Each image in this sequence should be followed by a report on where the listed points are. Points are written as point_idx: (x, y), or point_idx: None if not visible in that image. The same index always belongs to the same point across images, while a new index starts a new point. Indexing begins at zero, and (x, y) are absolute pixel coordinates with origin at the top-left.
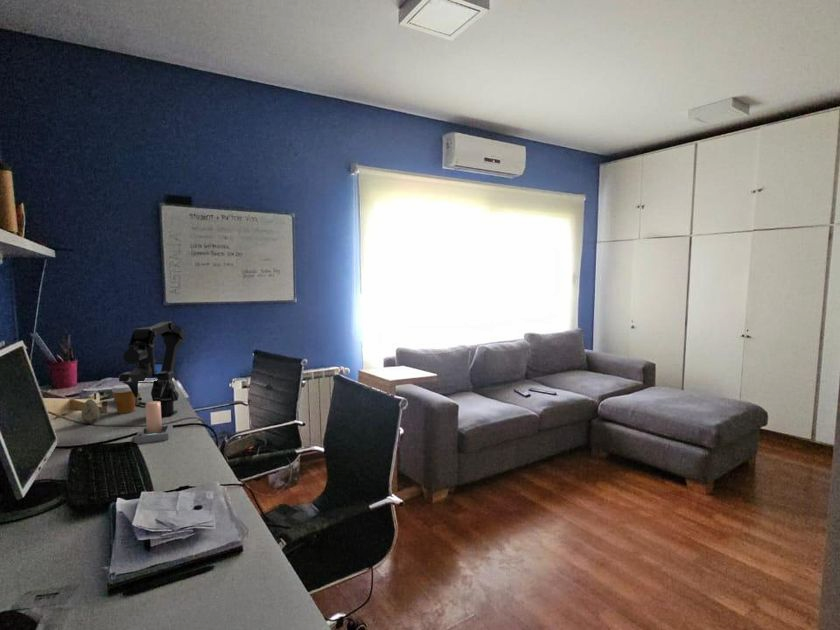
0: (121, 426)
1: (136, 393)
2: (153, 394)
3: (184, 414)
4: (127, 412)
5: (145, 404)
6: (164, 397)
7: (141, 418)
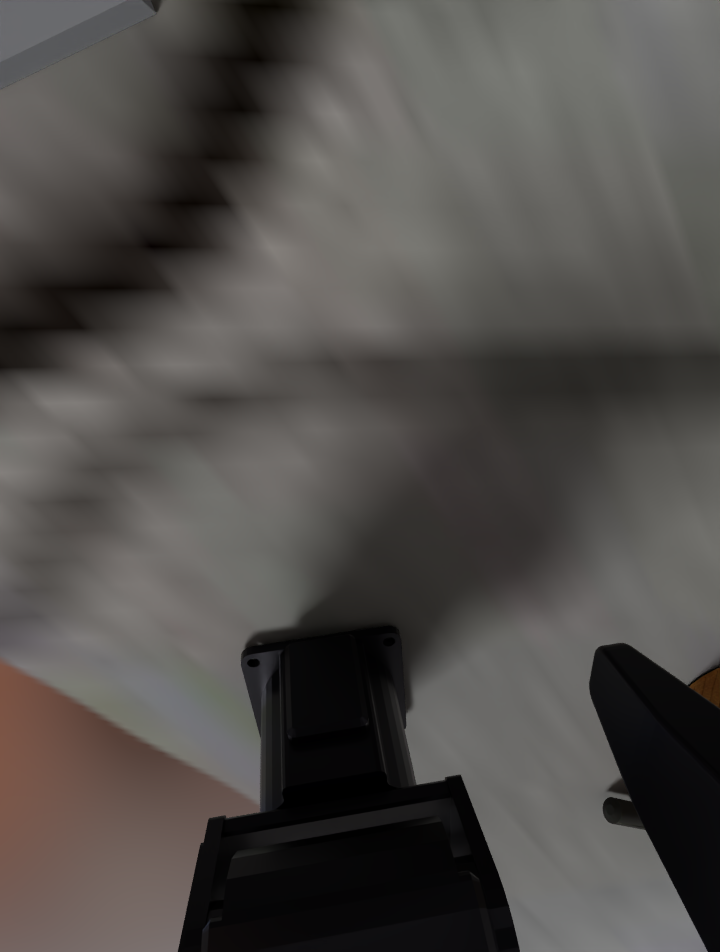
0: (618, 352)
1: (651, 761)
2: (445, 881)
3: (141, 699)
4: (708, 680)
5: (625, 809)
6: (283, 854)
7: (517, 581)
